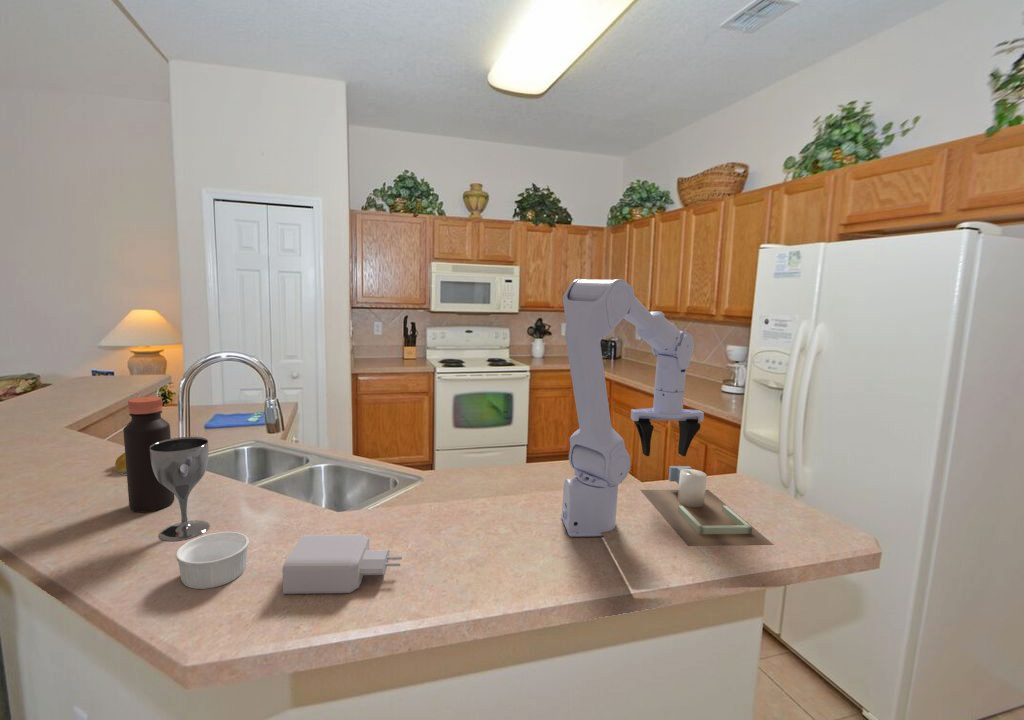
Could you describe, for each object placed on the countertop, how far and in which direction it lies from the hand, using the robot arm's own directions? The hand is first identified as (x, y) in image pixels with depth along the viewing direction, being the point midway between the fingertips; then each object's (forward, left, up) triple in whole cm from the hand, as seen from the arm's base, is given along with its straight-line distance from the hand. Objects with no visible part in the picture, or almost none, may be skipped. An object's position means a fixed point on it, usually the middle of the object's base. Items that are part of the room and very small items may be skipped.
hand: (664, 454), depth 101 cm
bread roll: (-113, +18, -10) cm, 115 cm away
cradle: (+5, -12, -9) cm, 16 cm away
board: (+4, -9, -9) cm, 14 cm away
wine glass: (-87, -12, -10) cm, 88 cm away
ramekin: (-76, -25, -10) cm, 81 cm away
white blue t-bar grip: (+5, -2, -9) cm, 10 cm away
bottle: (-98, -2, -10) cm, 98 cm away
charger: (-57, -26, -10) cm, 64 cm away
